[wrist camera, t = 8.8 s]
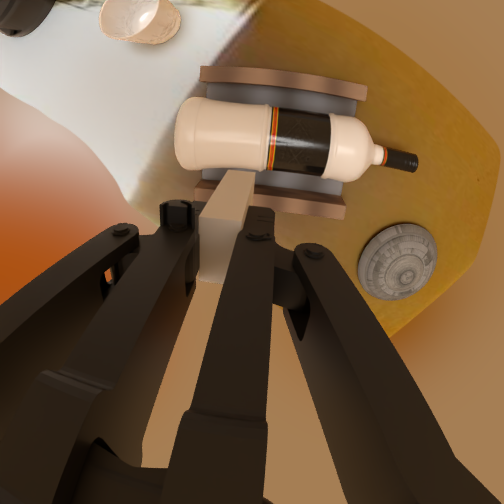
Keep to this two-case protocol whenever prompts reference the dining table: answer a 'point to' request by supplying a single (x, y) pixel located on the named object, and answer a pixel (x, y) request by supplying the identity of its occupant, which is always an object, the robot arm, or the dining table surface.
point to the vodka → (279, 141)
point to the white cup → (139, 20)
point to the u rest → (288, 96)
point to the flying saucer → (397, 262)
